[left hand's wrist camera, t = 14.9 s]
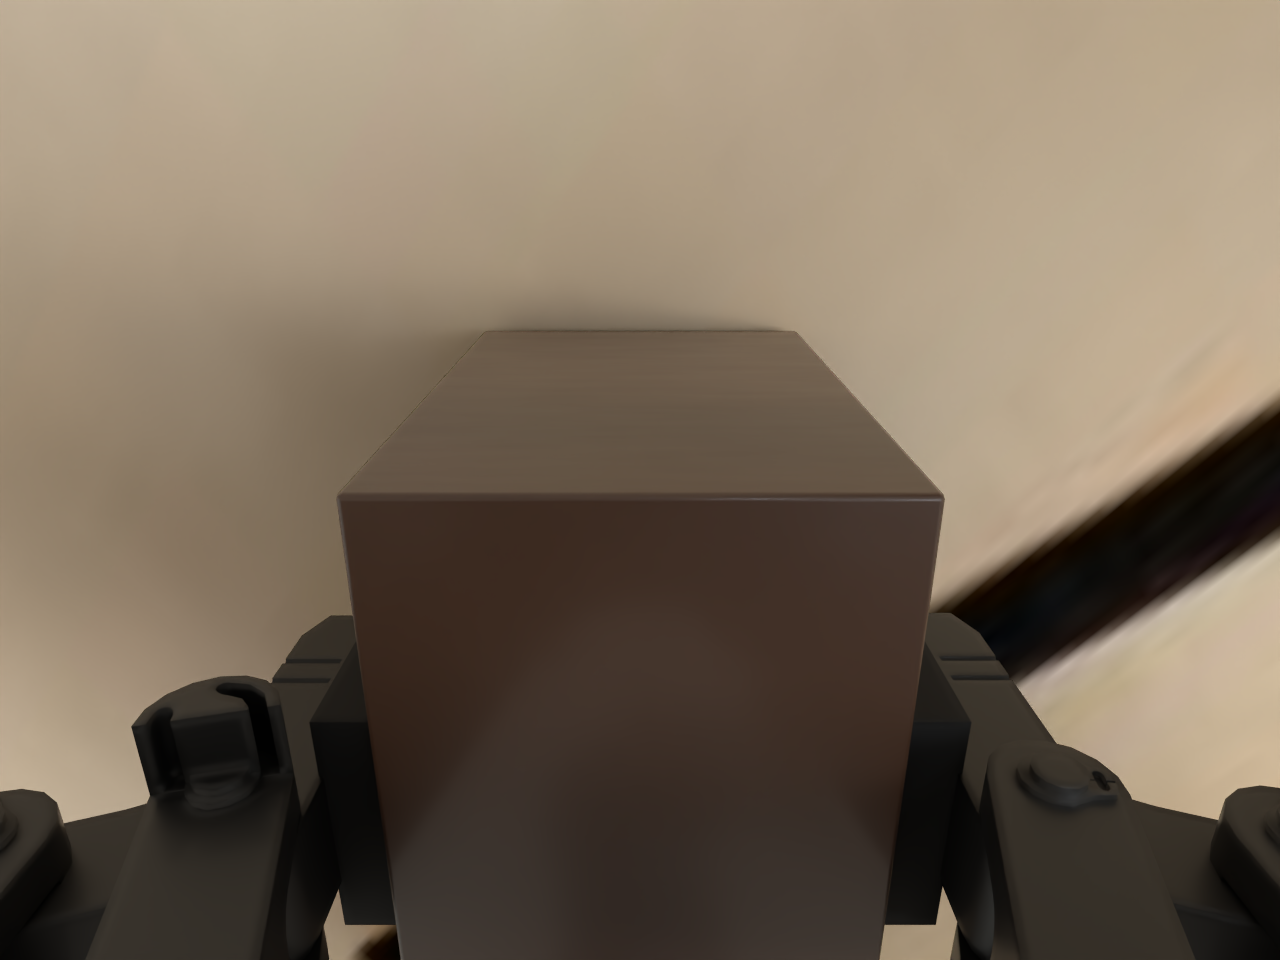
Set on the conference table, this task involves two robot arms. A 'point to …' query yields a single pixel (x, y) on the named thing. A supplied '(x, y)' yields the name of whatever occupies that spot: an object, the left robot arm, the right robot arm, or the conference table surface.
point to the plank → (640, 650)
